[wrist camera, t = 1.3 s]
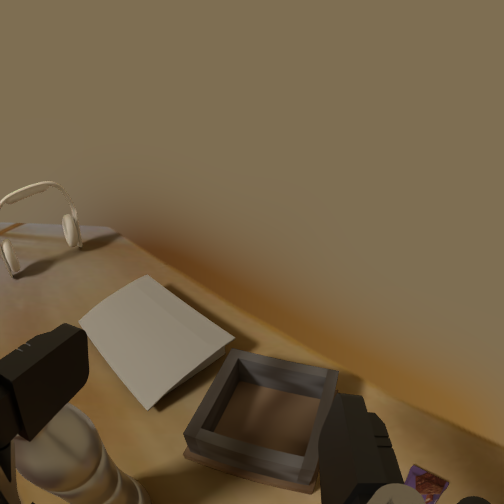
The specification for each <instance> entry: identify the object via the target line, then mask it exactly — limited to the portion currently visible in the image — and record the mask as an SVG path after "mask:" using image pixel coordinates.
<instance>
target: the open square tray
mask: <svg viewBox="0 0 504 504" xmlns="http://www.w3.org/2000/svg"><path fill="white" fill-rule="evenodd" d="M338 373H339V371H336V370H331V369H325V368H320V367H315V366H310V365H304V364H300V363H295V362H290V361H285V360H281V359H276V358H272V357H267V356H263V355H259V354H254V353H250V352H246V351H242V350H238V349H234V348H232V349H231V350H230V352H229V354H228V356H227V358H226V359H225V361H224V363H223V365H222V367H221V368H220V370H219V372H218V374H217V375H216V377H215V379H214V381H213V383H212V384H211V386H210V388H209V390H208V391H207V393H206V395H205V397H204V398H203V400H202V402H201V404H200V405H199V407H198V409H197V411H196V412H195V414H194V416H193V418H192V419H191V421H190V423H189V424H188V426H187V428H186V430H185V431H184V433H183V435H184V437H185V440H186V442H187V445H188V446H187V448H186V449H185V451H184V453H183V455H184V457H185V458H186V459H189V460H192V461H194V462H197V463H200V464H202V465H205V466H208V467H211V468H214V469H217V470H220V471H223V472H226V473H229V474H232V475H235V476H238V477H242V478H245V479H248V480H252V481H255V482H259V483H263V484H267V485H271V486H275V487H279V488H283V489H287V490H292V491H296V492H301V493H306V494H312V492H313V489H314V486H315V483H316V479H317V476H318V472H319V454H318V441H319V436H320V432H321V429H322V427H323V424H324V422H325V420H326V417H327V415H328V412H329V410H330V408H331V405H332V403H333V400H334V398H335V396H336V394H337V393H338V390H335V388H336V383H337V378H338Z"/></svg>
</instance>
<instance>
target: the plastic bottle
mask: <svg viewBox="0 0 504 504" xmlns="http://www.w3.org/2000/svg"><path fill="white" fill-rule="evenodd" d="M13 440H14V443H15V465H16V469H17V470H18V472H19V473H20V474H21V475H22V476H23V477H24V478H25V479H27V480H28V481H30V482H31V483H33V484H34V485H36V486H38V487H39V488H41V489H44V490H46V491H48V492H50V493H52V494H54V495H56V496H58V497H60V498H62V499H63V500H65V501H67V502H69V503H70V504H152V503H151V500H150V497H149V494H148V493H147V491H146V489H145V488H144V487H143V486H142V485H141V484H140V483H139V482H138V481H136V480H135V479H133V478H132V477H131V476H129V475H127V474H125V473H124V472H122V471H121V470H120V469H119V468H118V467H117V466H116V465H115V464H114V462H113V461H112V459H111V458H110V456H109V455H108V453H107V451H106V449H105V447H104V445H103V443H102V440H101V438H100V436H99V433H98V431H97V429H96V428H95V426H94V424H93V423H92V421H91V420H90V418H89V417H88V416H87V415H86V414H85V413H84V412H82V411H81V410H79V409H78V408H76V407H75V406H73V405H72V404H70V403H67V404H66V405H65V406H64V407H63V408H62V409H61V410H60V411H59V412H58V413H57V414H56V415H55V416H54V417H53V418H52V420H51V421H50V422H49V423H48V424H47V425H46V426H45V427H44V428H43V429H42V430H41V431H40V432H39V433H38V434H37V435H36V436H35V437H34V439H33V440H32V441H31V442H29V441H27V440H26V439H24V438H23V437H21V436H19V435H18V434H17V435H16V436H15V437H14V438H13Z"/></svg>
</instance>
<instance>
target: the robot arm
mask: <svg viewBox="0 0 504 504" xmlns="http://www.w3.org/2000/svg"><path fill="white" fill-rule="evenodd" d="M88 375H89V360H88V342H87V334H86V332H85V330H83V329H80V328H77V327H75V326H72V325H69V324H67V323H64V324H62V325H60V326H59V327H57V328H56V329H54V330H53V331H51V332H47V333H44V334H40V335H37V336H35V337H33V338H32V339H30V340H29V341H27V342H26V344H23V345H21V346H20V347H18V350H16V349H15V350H14V351H12V352H11V353H9V354H8V355H6V356H5V357H4V358H2V359H1V360H0V504H21V501H20V499H19V496H18V492H17V482H16V465H15V443H14V440H13V438H14V437H15V436H16V435H17V434H18V435H19V436H21V437H23V438H24V439H26V440H27V441H29V442H31V441H32V440H33V439H34V437H35V436H36V435H37V434H38V433H39V432H40V431H41V430H42V429H43V428H44V427H45V426H46V425H47V424H48V423H49V422H50V421H51V420H52V418H53V417H54V416H55V415H56V414H57V413H58V412H59V411H60V410H61V409H62V408H63V407H64V406H65V405H66V404H67V403H68V402H69V401H70V400H71V399H72V398H73V397H74V396H75V395H76V393H77V392H78V391H79V390H80V389H81V388H82V387H83V386H84V385H85V383H86V381H87V379H88ZM388 437H389V435H388V432H387V429H386V426H385V424H384V423H383V421H382V420H381V419H380V418H379V417H378V416H377V415H376V414H375V413H369V412H367V409H366V406H365V402H364V399H363V397H362V396H359V395H350V394H342V393H337V394H336V396H335V398H334V400H333V403H332V405H331V408H330V410H329V412H328V415H327V417H326V420H325V422H324V424H323V427H322V429H321V432H320V436H319V441H318V454H319V469H320V485H321V503H322V504H425V501H424V499H423V497H422V495H421V494H420V493H419V492H418V491H417V490H415V489H414V488H412V487H410V486H407V485H404V481H403V478H402V475H401V472H400V469H399V465H398V462H397V459H396V456H395V453H394V450H393V448H392V444H391V441H390V438H388ZM31 504H35V503H33V502H32V503H31ZM457 504H491V503H489V502H488V501H487V500H485V499H483V498H481V497H476V496H470V497H466V498H463V499H462V500H460V501H459V502H458V503H457Z"/></svg>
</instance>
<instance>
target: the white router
mask: <svg viewBox="0 0 504 504" xmlns="http://www.w3.org/2000/svg"><path fill="white" fill-rule="evenodd" d="M78 322H79V324H80V325H81V327H82V328H83V329H84V330H85V332H86V334H87V335H88V337H89V338H90V339H91V341H92V342H93V344H94V345H95V346H96V348H97V349H98V351H99V352H100V353H101V355H102V356H103V357H104V359H105V360H106V361H107V362H108V364H109V365H110V366H111V368H112V369H113V370H114V371H115V373H116V374H117V375H118V377H119V378H120V379H121V380H122V382H123V383H124V384H125V385H126V386H127V388H128V389H129V390H130V391H131V392H132V394H133V395H134V396H135V397H136V398H137V399H138V401H139V402H140V403H141V404H142V405H143V406H144V407H145V409H146V410H147V411H149V410H150V409H151V408H152V407H153V406H154V405H155V404H156V403H157V402H158V401H159V400H160V399H161V398H162V397H163V396H164V395H165V394H167V393H169V392H170V391H172V390H173V389H175V388H176V387H178V386H179V385H181V384H182V383H184V382H185V381H187V380H188V379H190V378H191V377H192V376H194V375H195V374H197V373H198V372H200V371H201V370H203V369H204V368H206V367H207V366H209V365H210V364H211V363H213V362H214V361H216V360H217V359H219V358H220V357H221V356H223V355H224V354H225V346H226V345H227V344H229V343H230V342H231V341H233V340H234V339H235V337H233V336H232V335H230V334H229V333H228V332H226V331H225V330H223V329H222V328H220V327H219V326H217V325H216V324H214V323H213V322H212V321H210V320H209V319H207V318H206V317H204V316H203V315H202V314H200V313H199V312H197V311H196V310H195V309H193V308H192V307H190V306H189V305H188V304H186V303H185V302H183V301H182V300H181V299H179V298H178V297H177V296H175V295H174V294H172V293H171V292H170V291H168V290H167V289H166V288H164V287H163V286H162V285H160V284H159V283H158V282H156V281H155V280H154V279H152V278H151V277H150V276H148V275H145V276H143V277H141V278H139V279H137V280H135V281H133V282H131V283H130V284H128V285H126V286H125V287H123V288H121V289H120V290H118V291H116V292H115V293H113V294H112V295H110V296H109V297H107V298H106V299H104V300H103V301H102V302H100V303H99V304H98V305H96V306H95V307H94V308H92V309H91V310H90V311H89V312H88V313H87V314H86V315H85V316H84V317H83V318H82V319H80V320H79V321H78Z"/></svg>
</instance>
